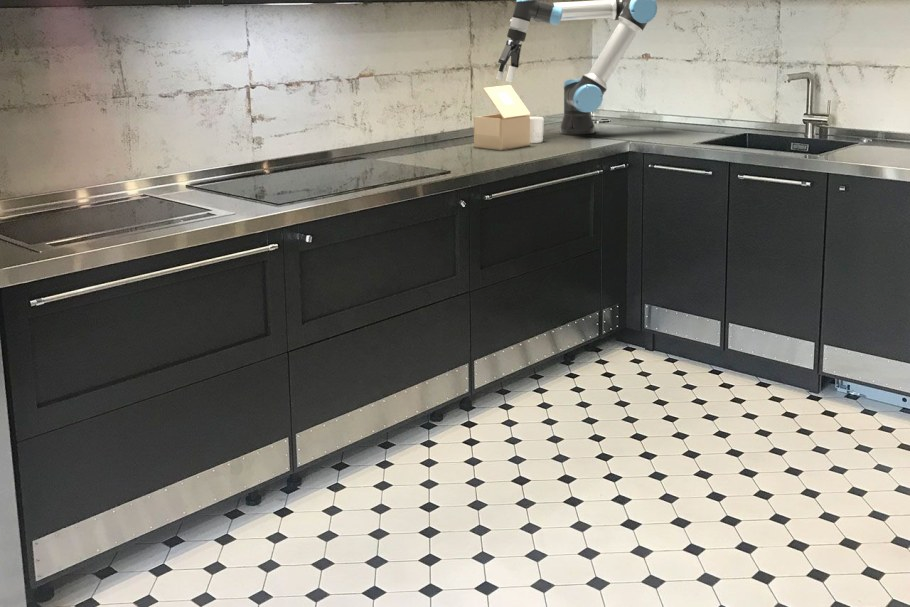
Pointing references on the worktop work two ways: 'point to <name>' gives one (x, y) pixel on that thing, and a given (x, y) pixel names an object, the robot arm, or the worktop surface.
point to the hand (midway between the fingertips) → (503, 80)
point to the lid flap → (506, 101)
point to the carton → (501, 132)
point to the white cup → (536, 129)
